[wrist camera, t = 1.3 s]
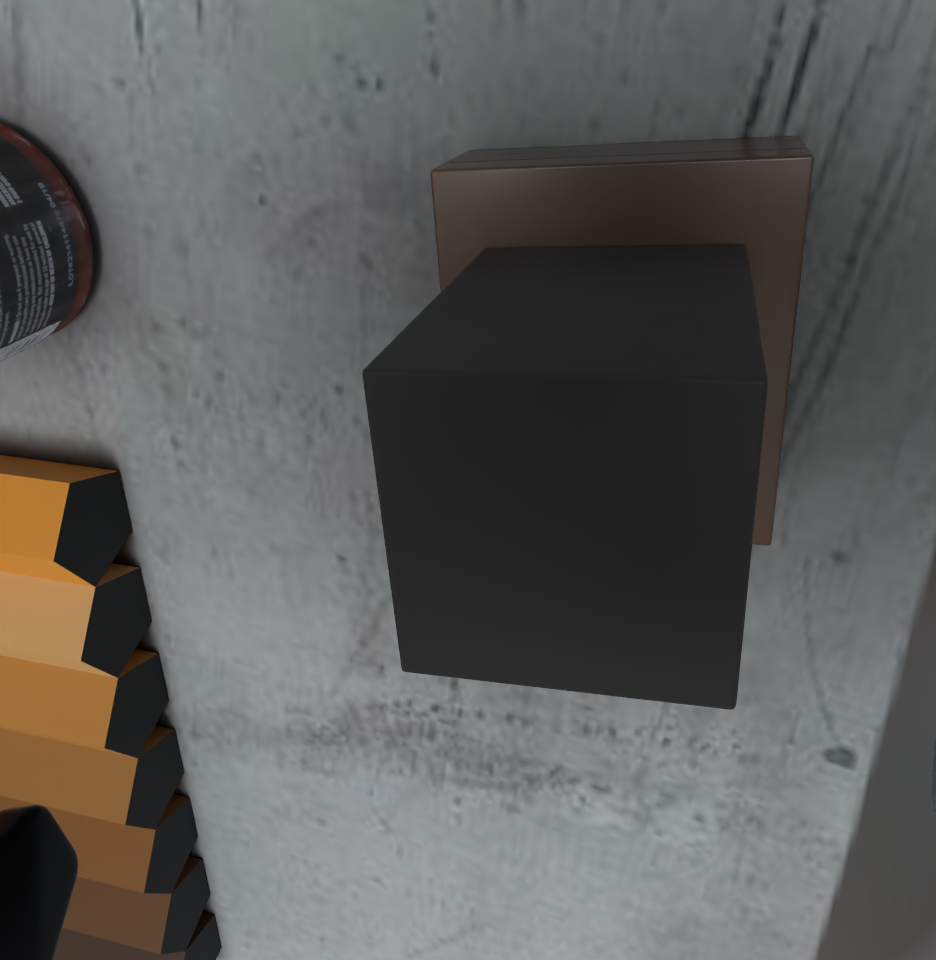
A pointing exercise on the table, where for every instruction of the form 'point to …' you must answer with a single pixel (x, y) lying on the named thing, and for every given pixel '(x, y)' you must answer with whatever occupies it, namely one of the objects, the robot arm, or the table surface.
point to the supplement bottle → (38, 247)
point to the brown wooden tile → (649, 226)
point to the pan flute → (93, 718)
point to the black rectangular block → (575, 470)
